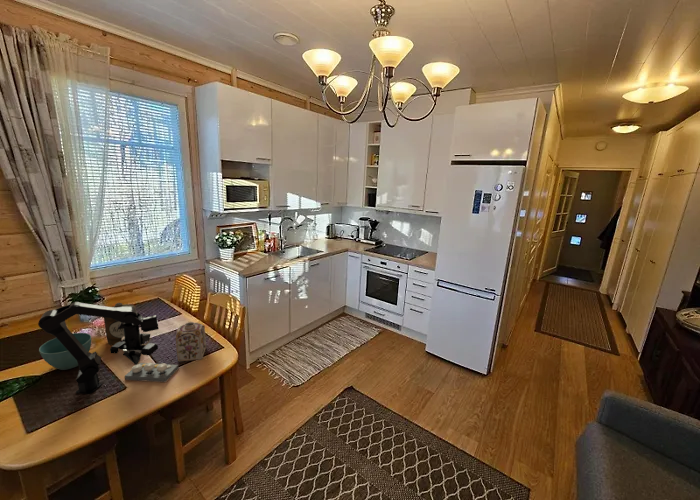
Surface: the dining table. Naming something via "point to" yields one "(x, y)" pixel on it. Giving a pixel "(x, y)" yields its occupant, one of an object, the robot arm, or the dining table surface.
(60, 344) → the teal bowl
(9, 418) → the dining table surface
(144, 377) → the board
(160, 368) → the white lever knob
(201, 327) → the decorative jar
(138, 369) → the button inner
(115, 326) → the wooden container
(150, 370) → the button middle
